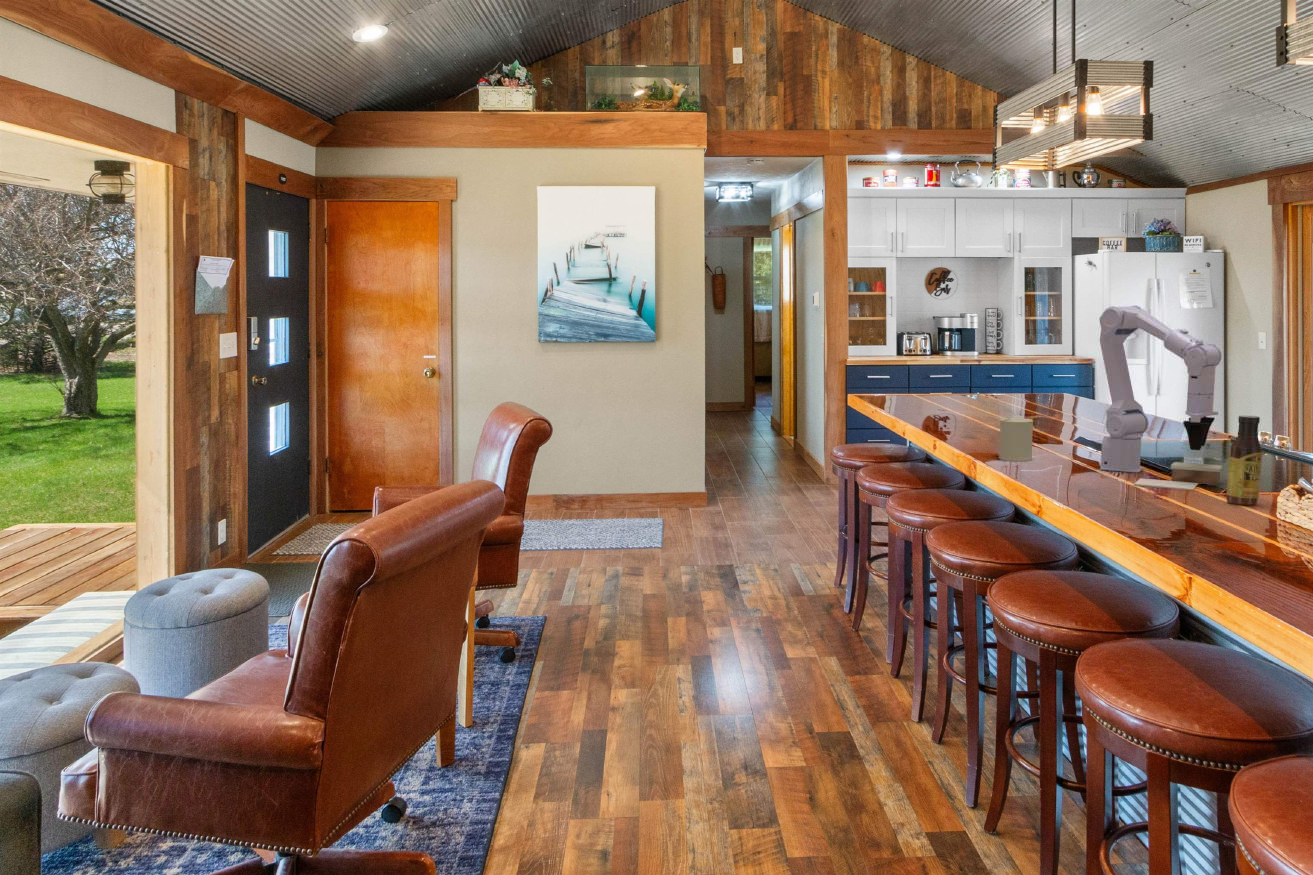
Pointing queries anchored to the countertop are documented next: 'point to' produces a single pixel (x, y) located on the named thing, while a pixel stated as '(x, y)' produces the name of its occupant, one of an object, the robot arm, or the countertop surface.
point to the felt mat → (1166, 484)
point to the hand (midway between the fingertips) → (1197, 447)
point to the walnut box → (1196, 476)
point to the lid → (1196, 467)
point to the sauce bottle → (1245, 464)
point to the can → (1016, 439)
